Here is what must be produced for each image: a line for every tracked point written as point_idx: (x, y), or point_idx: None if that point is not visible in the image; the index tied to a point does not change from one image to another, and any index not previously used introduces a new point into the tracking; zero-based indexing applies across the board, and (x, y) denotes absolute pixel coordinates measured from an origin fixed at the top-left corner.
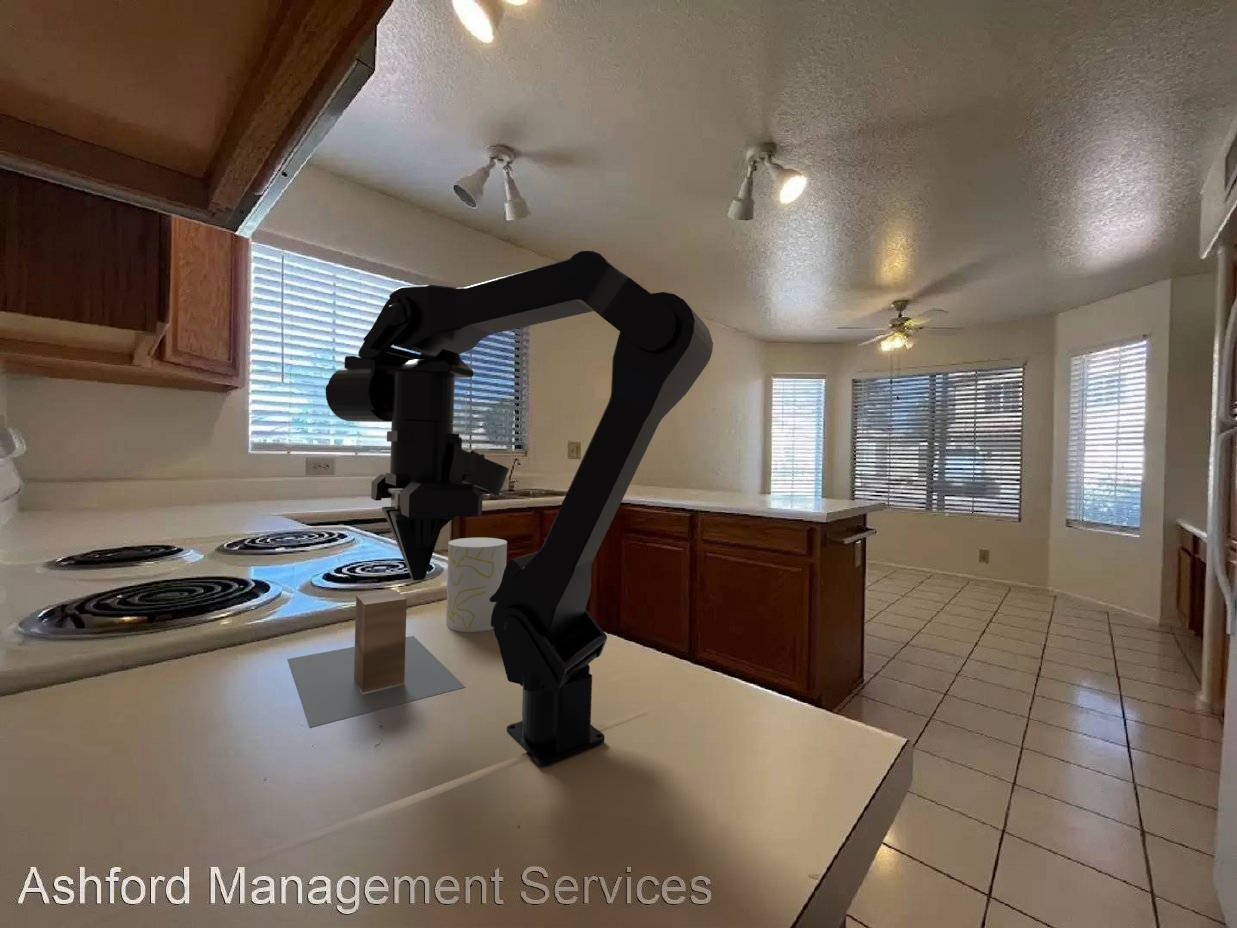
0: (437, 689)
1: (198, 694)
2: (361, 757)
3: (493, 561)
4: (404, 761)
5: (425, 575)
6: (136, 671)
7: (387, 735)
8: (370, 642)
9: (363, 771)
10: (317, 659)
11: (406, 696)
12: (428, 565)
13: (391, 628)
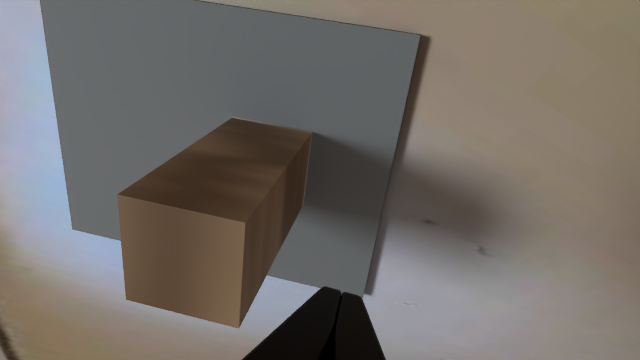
0: (384, 92)
1: (145, 335)
2: (496, 279)
3: None
4: (566, 247)
5: (363, 305)
6: (28, 355)
7: (466, 228)
8: (275, 247)
9: (535, 292)
10: (97, 196)
11: (368, 153)
12: (378, 343)
13: (271, 218)
